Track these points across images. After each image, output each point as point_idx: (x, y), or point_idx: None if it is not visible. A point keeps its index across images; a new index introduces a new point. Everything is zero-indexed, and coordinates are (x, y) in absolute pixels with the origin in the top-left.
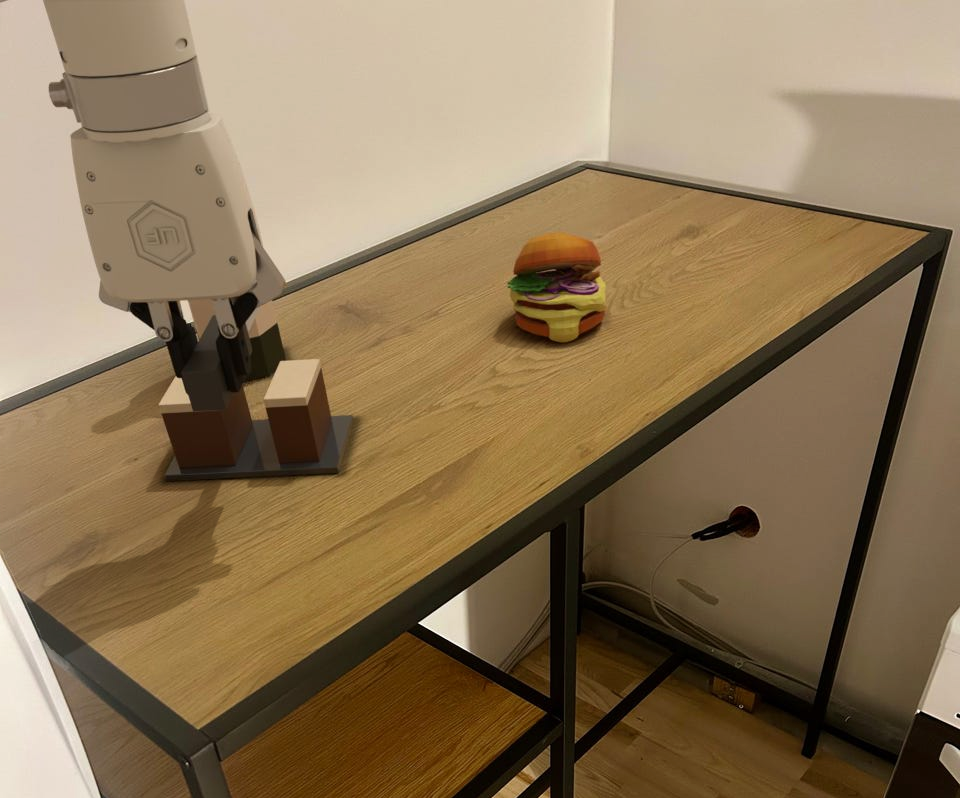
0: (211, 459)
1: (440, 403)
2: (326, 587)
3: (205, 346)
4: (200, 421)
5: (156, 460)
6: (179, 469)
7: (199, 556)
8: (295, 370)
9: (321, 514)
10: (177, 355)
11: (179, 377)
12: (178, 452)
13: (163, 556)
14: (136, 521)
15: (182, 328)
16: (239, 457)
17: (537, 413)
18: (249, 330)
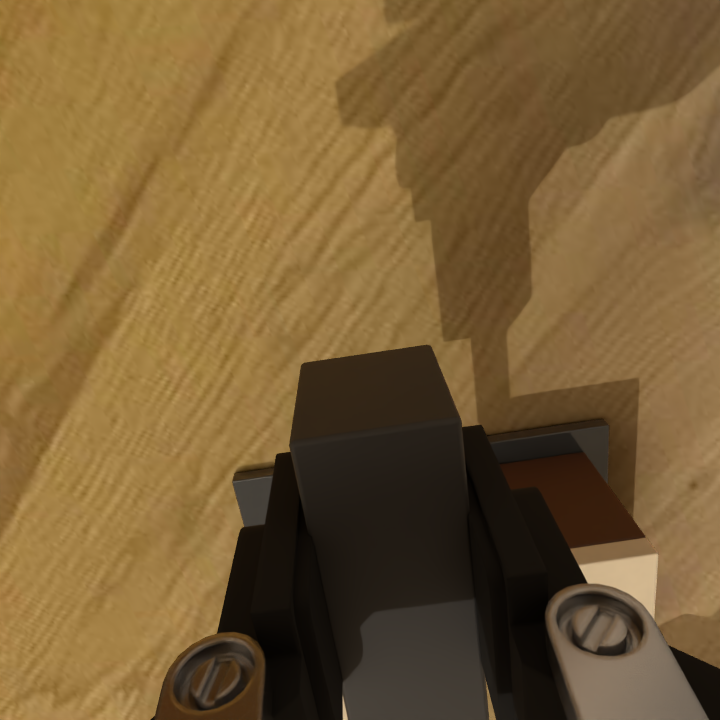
0: (513, 472)
1: (126, 697)
2: (74, 54)
3: (432, 635)
4: None
5: (648, 485)
6: (581, 447)
7: (432, 152)
8: (345, 711)
9: (210, 332)
10: (514, 527)
11: (524, 488)
12: (589, 474)
13: (519, 145)
14: (626, 273)
15: (519, 685)
16: None
17: None
18: None
